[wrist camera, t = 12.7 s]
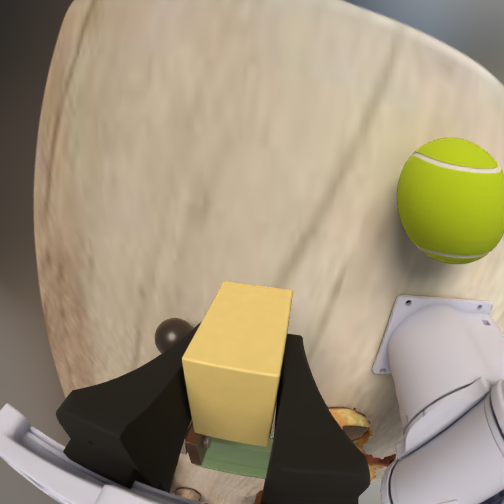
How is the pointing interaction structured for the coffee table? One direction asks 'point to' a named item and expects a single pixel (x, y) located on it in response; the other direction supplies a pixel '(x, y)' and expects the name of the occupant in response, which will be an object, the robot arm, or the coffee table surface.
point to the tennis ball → (452, 200)
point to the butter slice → (238, 363)
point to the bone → (358, 419)
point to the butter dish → (238, 458)
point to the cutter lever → (166, 338)
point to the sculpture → (188, 494)
